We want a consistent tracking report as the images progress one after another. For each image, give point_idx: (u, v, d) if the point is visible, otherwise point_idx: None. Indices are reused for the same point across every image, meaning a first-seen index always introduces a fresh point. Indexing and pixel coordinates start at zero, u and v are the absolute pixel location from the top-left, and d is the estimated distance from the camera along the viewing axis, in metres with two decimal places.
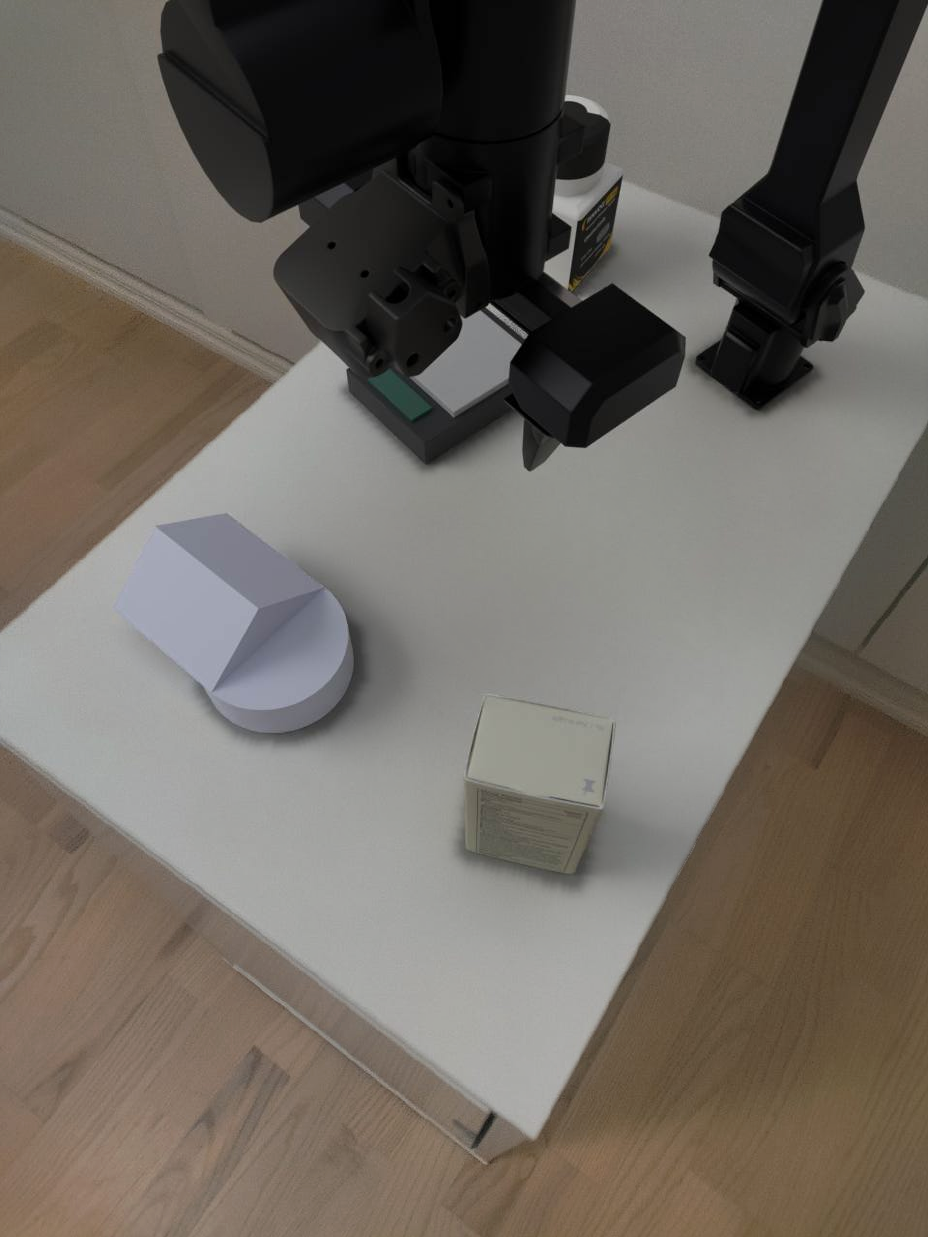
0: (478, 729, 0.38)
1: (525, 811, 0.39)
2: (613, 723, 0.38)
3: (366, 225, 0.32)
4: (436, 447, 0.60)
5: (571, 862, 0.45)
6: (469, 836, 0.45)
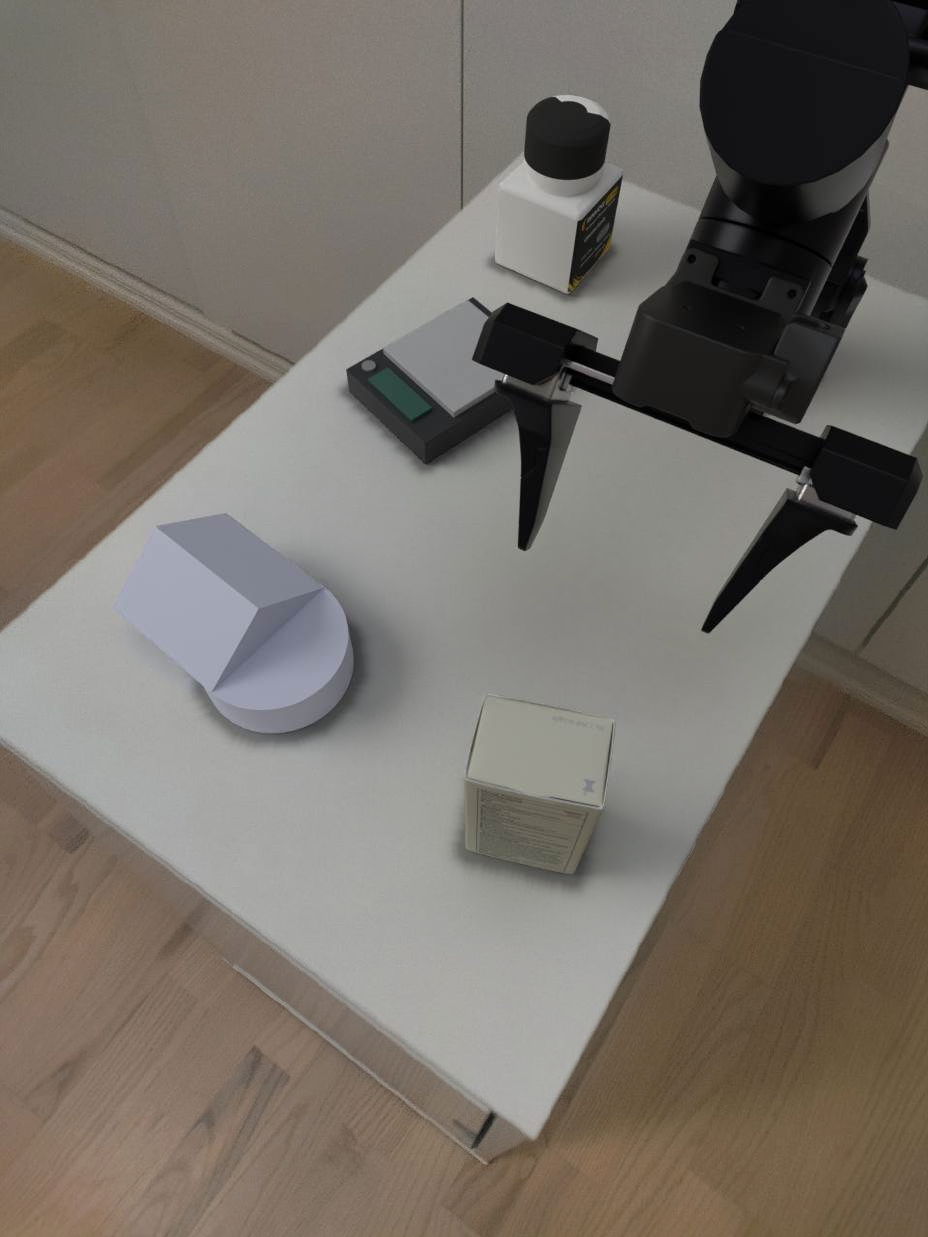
0: (478, 729, 0.38)
1: (526, 811, 0.39)
2: (613, 723, 0.38)
3: (707, 303, 0.32)
4: (436, 447, 0.60)
5: (571, 862, 0.45)
6: (469, 836, 0.45)
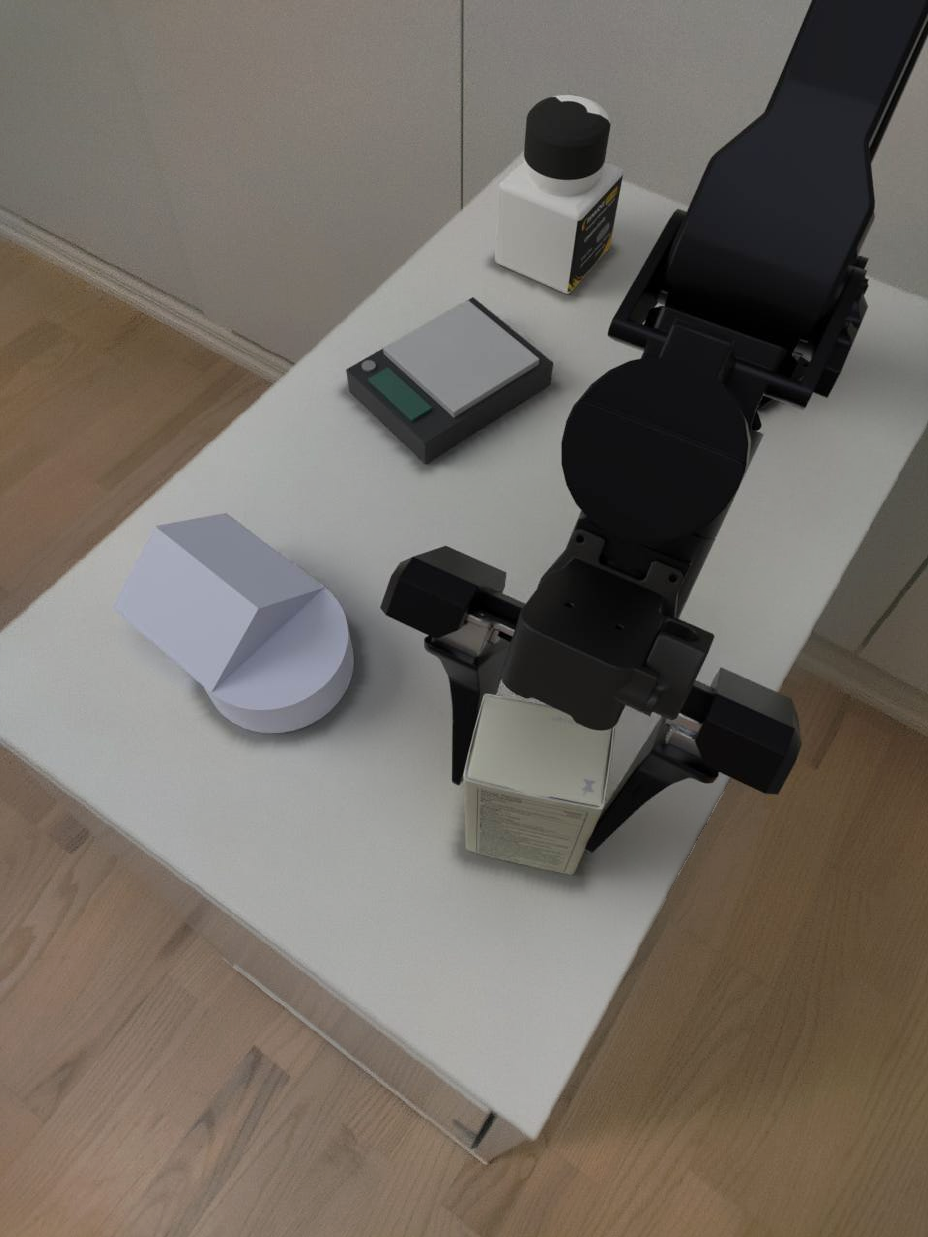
0: (478, 729, 0.38)
1: (525, 811, 0.39)
2: None
3: (591, 592, 0.34)
4: (436, 447, 0.60)
5: (571, 862, 0.45)
6: (469, 836, 0.45)
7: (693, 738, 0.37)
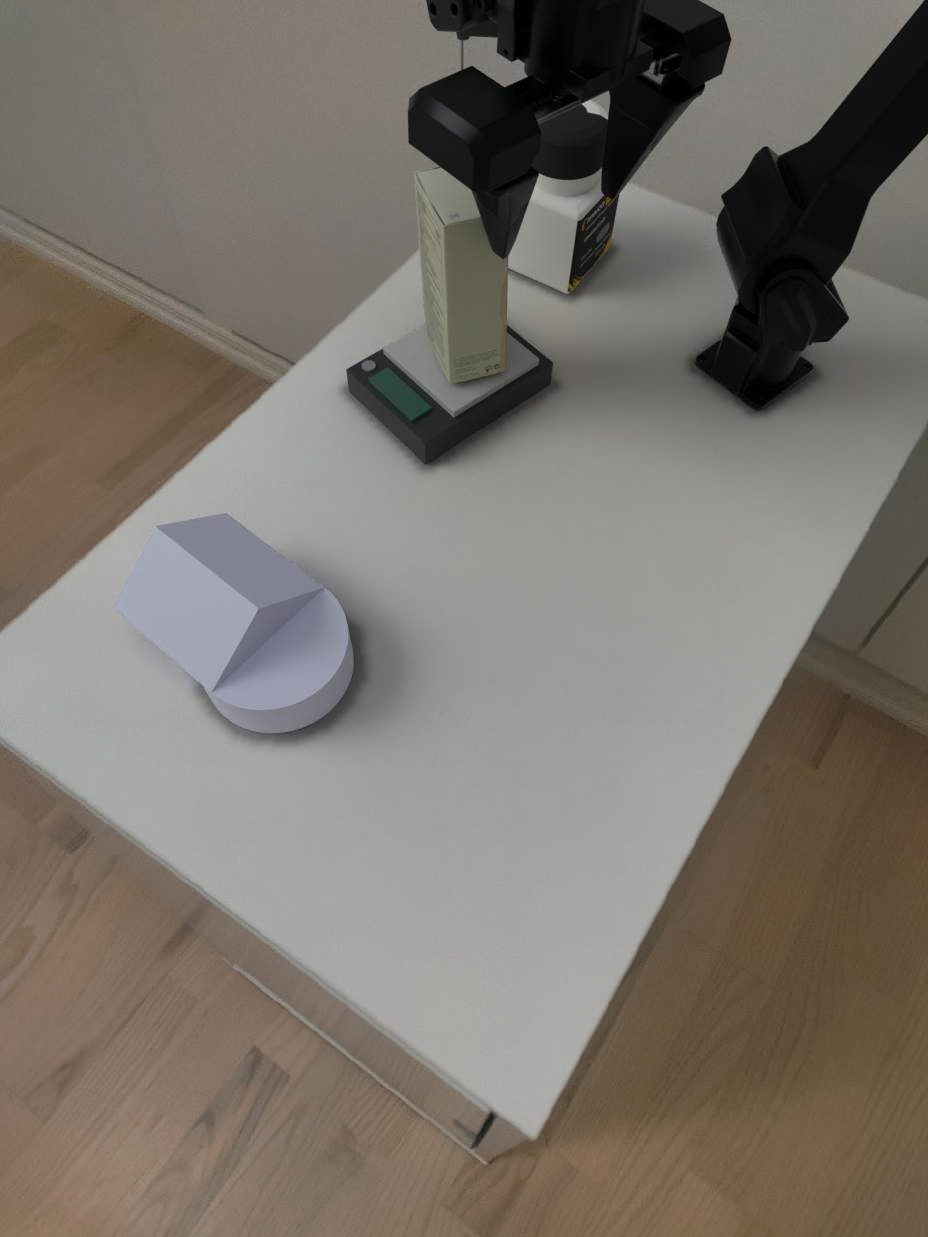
0: None
1: (428, 231, 0.54)
2: None
3: None
4: (436, 447, 0.60)
5: (446, 351, 0.58)
6: (423, 297, 0.61)
7: None
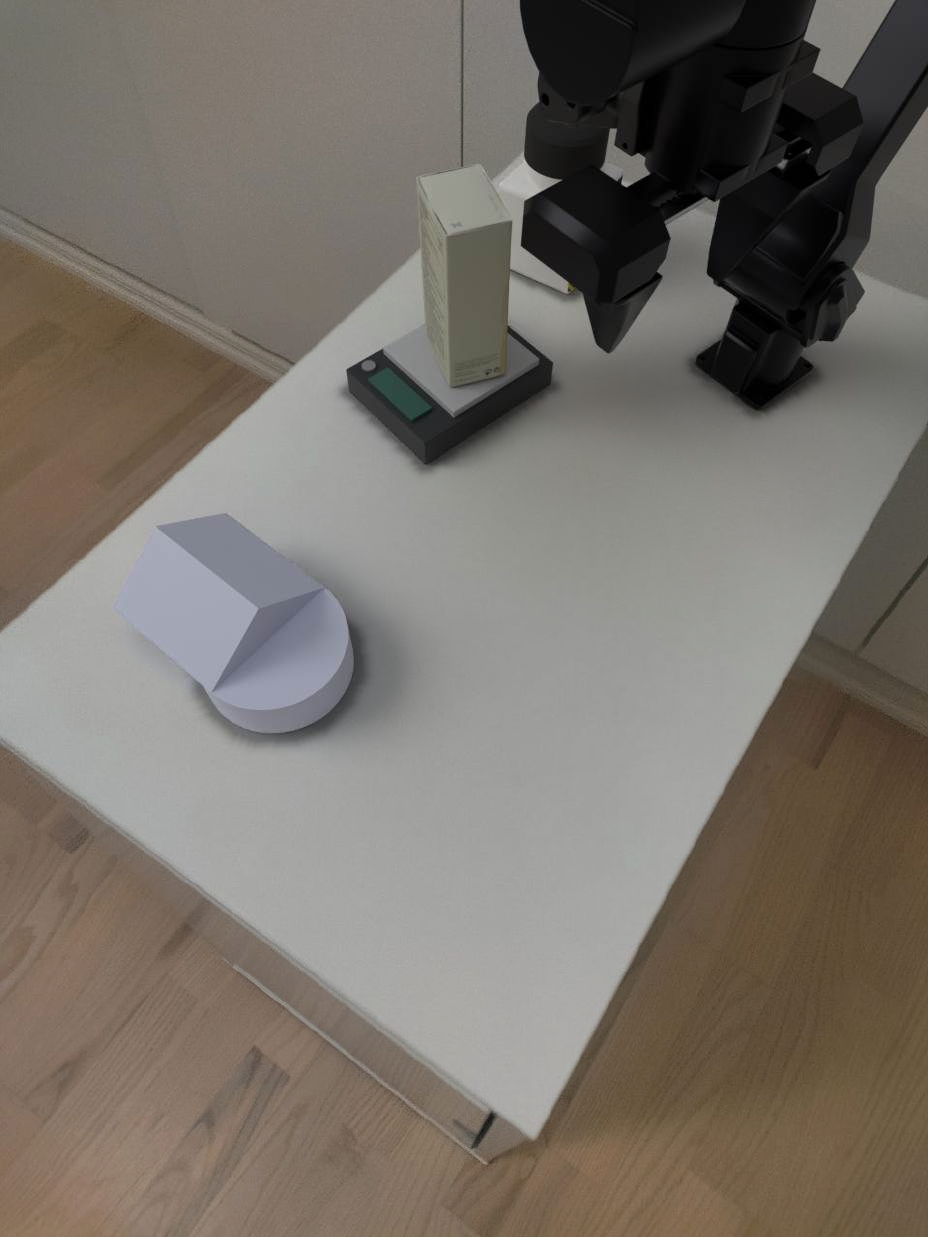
0: (453, 170, 0.53)
1: (430, 237, 0.54)
2: (509, 220, 0.51)
3: None
4: (436, 447, 0.60)
5: (447, 355, 0.58)
6: None
7: None
